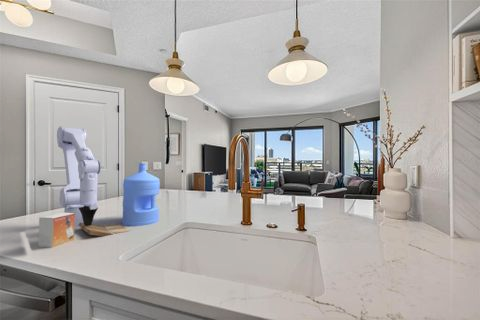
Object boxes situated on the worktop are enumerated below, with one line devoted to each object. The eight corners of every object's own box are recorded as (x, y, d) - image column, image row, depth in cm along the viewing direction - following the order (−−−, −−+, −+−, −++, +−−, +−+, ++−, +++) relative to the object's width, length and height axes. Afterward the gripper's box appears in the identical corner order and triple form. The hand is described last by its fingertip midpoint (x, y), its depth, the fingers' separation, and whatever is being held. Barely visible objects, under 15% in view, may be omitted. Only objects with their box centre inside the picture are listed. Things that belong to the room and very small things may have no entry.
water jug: (113, 226, 101) (115, 163, 101) (139, 218, 116) (140, 163, 116) (143, 230, 97) (144, 163, 97) (165, 221, 112) (167, 163, 112)
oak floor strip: (101, 228, 98) (101, 225, 98) (117, 225, 103) (117, 223, 103) (114, 237, 87) (114, 234, 87) (131, 233, 92) (131, 230, 92)
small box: (51, 251, 72) (52, 218, 73) (37, 250, 74) (38, 217, 74) (74, 243, 80) (75, 212, 80) (61, 241, 81) (62, 211, 82)
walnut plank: (78, 225, 92) (79, 222, 92) (99, 228, 98) (100, 225, 98) (89, 234, 81) (90, 231, 81) (112, 237, 87) (113, 234, 87)
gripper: (72, 189, 92) (71, 223, 92) (81, 193, 82) (80, 231, 82) (92, 188, 97) (91, 220, 97) (103, 191, 87) (102, 227, 87)
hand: (87, 225), depth 90 cm, fingers closed, pressing on walnut plank
